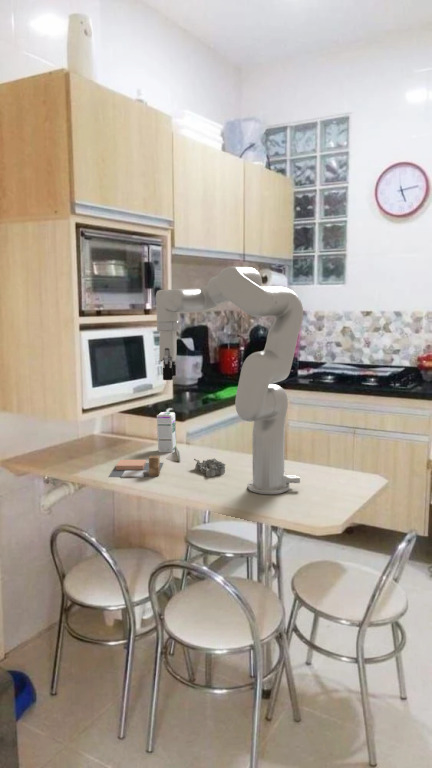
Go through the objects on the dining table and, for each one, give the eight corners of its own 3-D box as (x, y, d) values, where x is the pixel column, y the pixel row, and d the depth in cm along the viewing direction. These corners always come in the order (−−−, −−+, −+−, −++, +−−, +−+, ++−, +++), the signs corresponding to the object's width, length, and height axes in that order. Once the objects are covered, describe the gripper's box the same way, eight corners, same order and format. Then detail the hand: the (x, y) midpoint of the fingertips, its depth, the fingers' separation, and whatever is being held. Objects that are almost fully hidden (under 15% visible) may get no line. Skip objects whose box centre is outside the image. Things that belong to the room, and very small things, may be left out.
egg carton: (192, 470, 199) (192, 458, 198) (212, 466, 203) (212, 455, 202) (207, 478, 190) (207, 466, 189) (228, 474, 193) (227, 462, 193)
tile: (146, 459, 204) (120, 459, 205) (142, 465, 197) (116, 465, 198) (146, 464, 204) (120, 464, 205) (142, 470, 198) (116, 470, 198)
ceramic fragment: (180, 464, 206) (180, 453, 205) (165, 465, 205) (165, 454, 205) (178, 454, 220) (178, 444, 219) (164, 455, 219) (164, 444, 219)
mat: (163, 463, 206) (163, 462, 206) (157, 478, 190) (157, 476, 190) (118, 463, 206) (117, 462, 206) (108, 478, 191) (108, 477, 190)
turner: (160, 472, 195) (160, 454, 194) (157, 477, 189) (157, 459, 188) (125, 472, 196) (124, 454, 195) (121, 477, 190) (120, 459, 189)
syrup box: (173, 453, 219) (172, 414, 217) (157, 452, 220) (156, 414, 218) (176, 449, 225) (175, 411, 222) (161, 448, 226) (160, 411, 223)
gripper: (160, 325, 206) (161, 374, 209) (153, 328, 189) (155, 381, 192) (181, 325, 206) (183, 374, 208) (176, 328, 189) (178, 381, 191)
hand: (169, 377), depth 200 cm, fingers open, 9 cm apart
